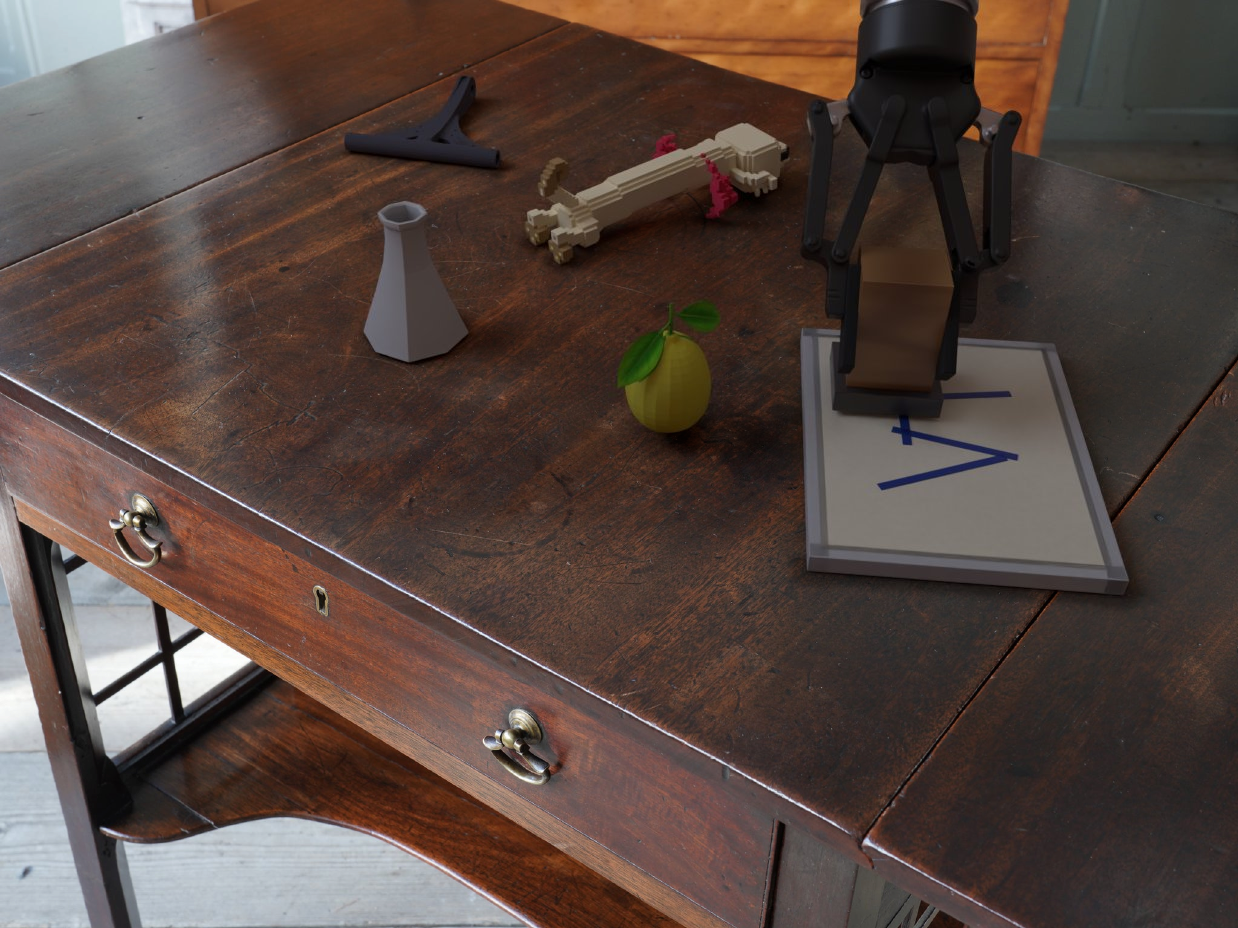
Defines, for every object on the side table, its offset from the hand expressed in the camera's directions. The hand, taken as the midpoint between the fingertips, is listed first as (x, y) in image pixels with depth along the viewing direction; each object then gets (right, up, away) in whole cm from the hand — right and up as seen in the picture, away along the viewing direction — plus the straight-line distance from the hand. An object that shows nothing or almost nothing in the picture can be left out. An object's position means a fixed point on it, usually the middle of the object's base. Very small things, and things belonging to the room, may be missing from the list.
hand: (895, 372), depth 77 cm
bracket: (-34, +26, +40) cm, 58 cm away
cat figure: (-13, +16, +27) cm, 34 cm away
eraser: (0, -1, +5) cm, 5 cm away
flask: (-32, +4, +12) cm, 35 cm away
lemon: (-14, -4, +4) cm, 15 cm away
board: (+4, -5, +3) cm, 7 cm away
